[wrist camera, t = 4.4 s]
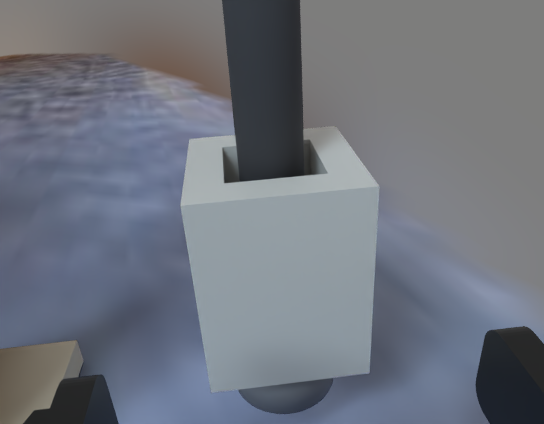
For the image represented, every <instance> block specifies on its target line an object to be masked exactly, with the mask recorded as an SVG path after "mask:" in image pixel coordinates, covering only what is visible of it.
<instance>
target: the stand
mask: <svg viewBox="0 0 544 424" xmlns="http://www.w3.org/2000/svg"><path fill="white" fill-rule="evenodd" d="M83 361H84V360H83V357H82V354H81V351H80V348H79V345H78V342H77V340H74V341H65V342H57V343H48V344H39V345H31V346H22V347H13V348H5V349H0V424H23V423H24V422H25V420H26V419H27V418H28V417H29V416H30V414H31V413H32V412H33V411H34V410H40V409H49V408H50V406H51V404H52V401H53V398H54V395H55V393H56V390H57V387H58V385H59V383H60V382H61V380H63V379H66V378H75V377H78V376H79V373H80V370H81V367H82V364H83Z"/></svg>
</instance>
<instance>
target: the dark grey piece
mask: <svg viewBox="0 0 544 424" xmlns="http://www.w3.org/2000/svg"><path fill="white" fill-rule="evenodd" d="M222 4H223V14H224V24H225V35H226V45H227V56H228V66H229V75H230V87H231V96H232V107H233V118H234V128H235V139H236V149H237V159H238V170H239V180H240V182H244V181H255V180H265V179H276V178H286V177H297V176H305V173H304V136H303V100H302V99H303V98H302V61H301V24H300V0H222ZM332 381H333V378H328V379H320V380H312V381H304V382H296V383H288V384H280V385H272V386H264V387H256V388H248V389H240V390H239V392H240V394H241V395H242V397H243V398H244V399H245V400H246V401H247V402H248V403H250V404H251V405H252V406H254V407H256V408H258V409H260V410H263V411H266V412H270V413H276V414H290V413H296V412H300V411H303V410H306V409H308V408H310V407H312V406H314V405H315V404H317V403H318V402H319V401H321V400H322V399H323V398H324V397H325V395H326V394H327V393H328V391H329V389H330V387H331V385H332Z"/></svg>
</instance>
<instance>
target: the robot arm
mask: <svg viewBox="0 0 544 424" xmlns="http://www.w3.org/2000/svg"><path fill="white" fill-rule="evenodd" d="M476 393H477V397H478V401H479V404H480V406H481V409H482V411H483V413H484V414H485V416H486V418H487V419H488V421H489V423H490V424H544V344H543V343H542V341H541V340H540V339H539V338H538V337H537V336H536V334H535V333H534V332H533V331H532V330H531V329H529V328H528V327H525V326H523V327H514V328H506V329H497V330H490V331H488V332H487V333H486V335H485V339H484V344H483V348H482V353H481V358H480V363H479V368H478V373H477V378H476ZM23 424H119V423H118V420H117V417H116V413H115V410H114V407H113V403H112V400H111V397H110V393H109V390H108V387H107V384H106V380H105V378H104V376H103V375H92V376H83V377H75V378H66V379H63V380H61V382H60V383H59V385H58V387H57V390H56V393H55V395H54V398H53V401H52V404H51V406H50V408H49V409H40V410H34V411H33V412H32V413H31V414H30V416H29V417H28V418H27V419H26V420H25V422H24V423H23Z"/></svg>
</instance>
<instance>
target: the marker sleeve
mask: <svg viewBox="0 0 544 424" xmlns="http://www.w3.org/2000/svg"><path fill="white" fill-rule="evenodd" d="M303 136H304V173H305V176H297V177H286V178H276V179H265V180H255V181H244V182H240V180H239V170H238V159H237V149H236V139H235V135H230V136H219V137H207V138H196V139H189V147H188V154H187V161H186V169H185V176H184V183H183V191H182V198H181V205H180V206H181V212H182V218H183V224H184V231H185V237H186V243H187V249H188V255H189V261H190V267H191V273H192V279H193V285H194V292H195V298H196V304H197V310H198V316H199V322H200V328H201V334H202V340H203V346H204V353H205V359H206V365H207V371H208V377H209V383H210V389H211V393H216V392H224V391H232V390H240V389H248V388H256V387H264V386H272V385H280V384H288V383H296V382H304V381H312V380H320V379H328V378H336V377H344V376H352V375H360V374H368V373H370V355H371V336H372V317H373V298H374V279H375V261H376V242H377V223H378V204H379V185H378V184H377V182H376V181H375V180H374V178H373V177H372V175H371V174H370V173H369V171H368V170H367V169H366V167H365V166H364V164H363V163H362V162H361V160H360V159H359V158H358V156H357V155H356V154H355V152H354V151H353V149H352V148H351V147H350V145H349V144H348V143H347V141H346V140H345V139H344V137H343V136H342V134H341V133H340V132H339V131H338V129H337V128H336V126H331V127H320V128H309V129H303Z"/></svg>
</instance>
